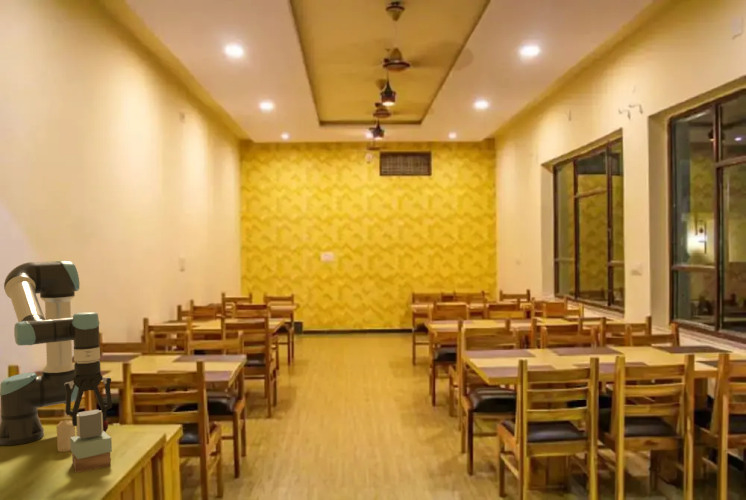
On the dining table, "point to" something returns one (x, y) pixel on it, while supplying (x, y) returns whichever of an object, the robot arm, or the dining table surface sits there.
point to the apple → (105, 426)
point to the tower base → (91, 462)
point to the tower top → (90, 445)
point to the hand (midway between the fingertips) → (89, 433)
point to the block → (90, 423)
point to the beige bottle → (65, 435)
